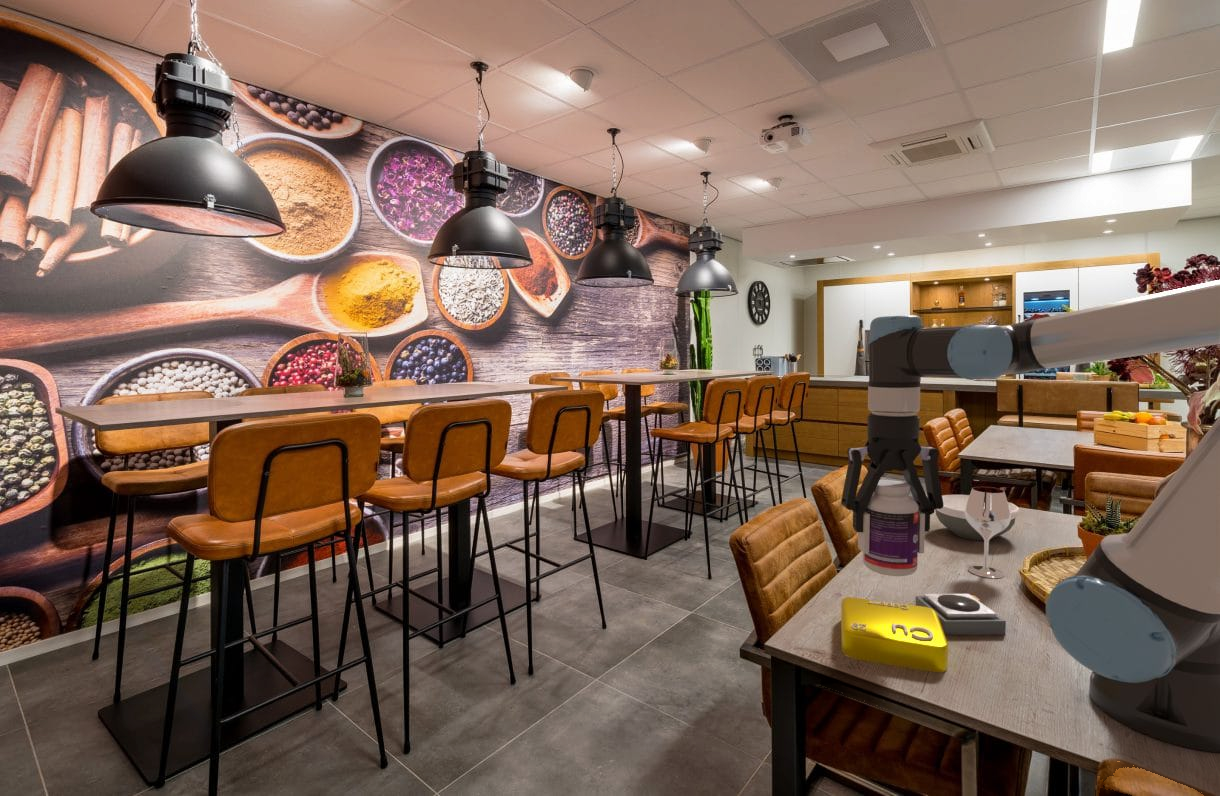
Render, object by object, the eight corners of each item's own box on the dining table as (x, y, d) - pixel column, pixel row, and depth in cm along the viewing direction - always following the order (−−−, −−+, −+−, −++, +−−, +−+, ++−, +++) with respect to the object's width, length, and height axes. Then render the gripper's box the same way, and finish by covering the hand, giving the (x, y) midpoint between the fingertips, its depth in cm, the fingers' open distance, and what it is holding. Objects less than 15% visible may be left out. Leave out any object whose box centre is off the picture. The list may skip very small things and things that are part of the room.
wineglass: (969, 578, 120) (971, 493, 119) (958, 563, 128) (960, 484, 126) (1015, 581, 118) (1017, 495, 116) (1000, 567, 125) (1003, 486, 124)
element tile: (934, 631, 99) (935, 604, 99) (950, 677, 85) (950, 646, 85) (841, 617, 105) (841, 592, 104) (841, 659, 91) (841, 629, 91)
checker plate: (995, 624, 97) (996, 612, 97) (947, 625, 98) (947, 612, 97) (968, 604, 105) (968, 592, 105) (923, 604, 106) (924, 592, 105)
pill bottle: (924, 580, 90) (926, 490, 88) (869, 577, 91) (871, 488, 90) (908, 561, 98) (910, 478, 96) (857, 559, 99) (859, 477, 98)
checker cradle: (1005, 634, 96) (1005, 618, 96) (944, 635, 97) (945, 618, 97) (970, 608, 106) (970, 593, 106) (915, 608, 107) (915, 593, 106)
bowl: (918, 524, 157) (918, 494, 156) (988, 523, 156) (989, 493, 155) (956, 547, 138) (957, 514, 138) (1036, 546, 137) (1037, 513, 137)
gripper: (946, 409, 95) (942, 542, 97) (819, 411, 96) (818, 543, 98) (973, 414, 88) (968, 558, 90) (835, 416, 89) (834, 559, 91)
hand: (890, 550), depth 94 cm, fingers closed on pill bottle, 8 cm apart
